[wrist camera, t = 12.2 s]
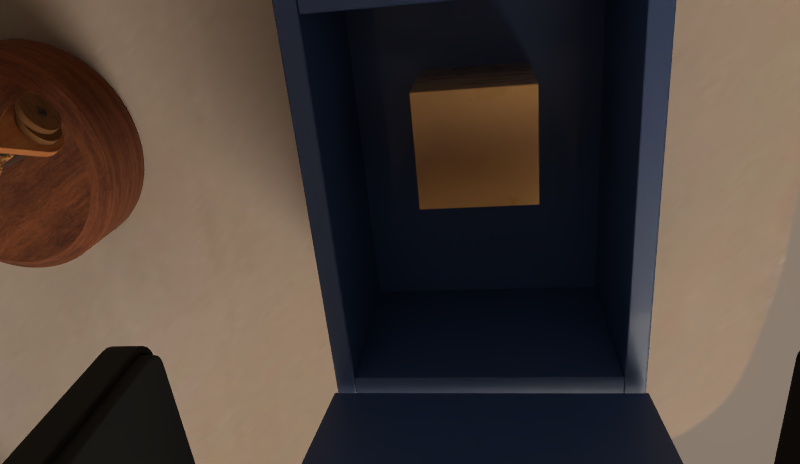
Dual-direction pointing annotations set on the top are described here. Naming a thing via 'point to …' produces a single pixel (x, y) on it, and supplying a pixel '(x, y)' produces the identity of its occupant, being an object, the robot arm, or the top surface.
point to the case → (483, 226)
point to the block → (476, 136)
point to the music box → (61, 156)
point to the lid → (492, 429)
